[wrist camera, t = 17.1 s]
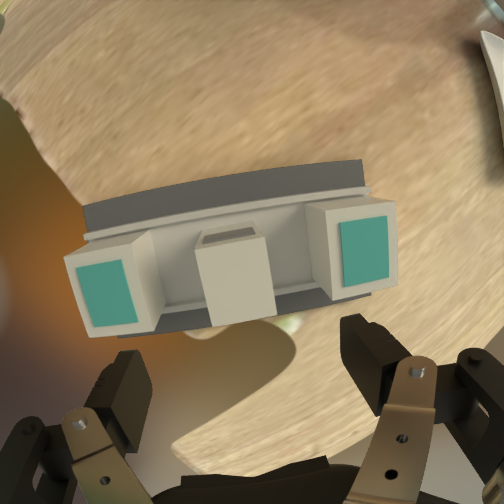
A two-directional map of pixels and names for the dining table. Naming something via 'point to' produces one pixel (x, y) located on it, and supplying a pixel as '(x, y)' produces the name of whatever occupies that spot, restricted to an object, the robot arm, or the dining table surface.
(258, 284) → the loose module
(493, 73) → the salad plate
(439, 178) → the dining table surface
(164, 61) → the dining table surface
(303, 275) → the board
